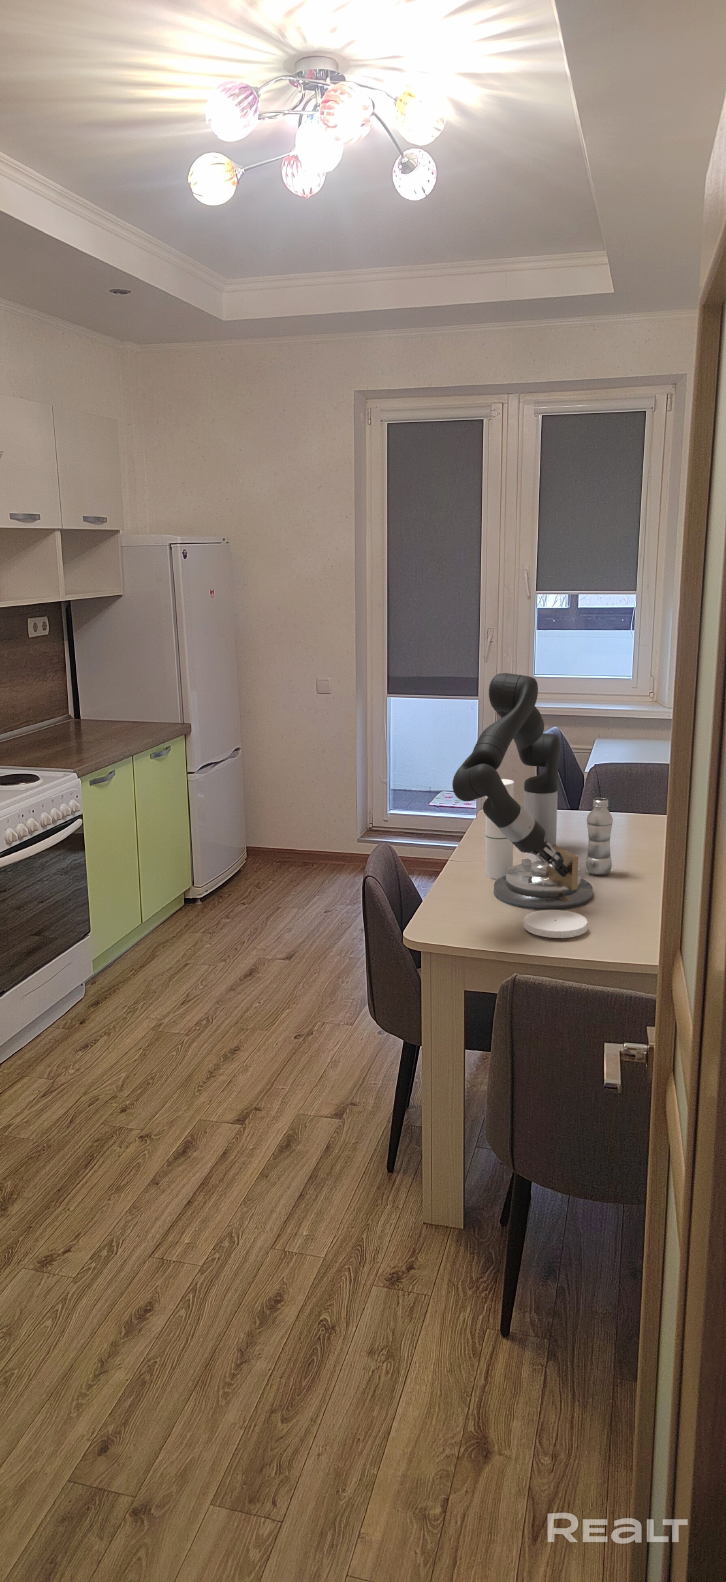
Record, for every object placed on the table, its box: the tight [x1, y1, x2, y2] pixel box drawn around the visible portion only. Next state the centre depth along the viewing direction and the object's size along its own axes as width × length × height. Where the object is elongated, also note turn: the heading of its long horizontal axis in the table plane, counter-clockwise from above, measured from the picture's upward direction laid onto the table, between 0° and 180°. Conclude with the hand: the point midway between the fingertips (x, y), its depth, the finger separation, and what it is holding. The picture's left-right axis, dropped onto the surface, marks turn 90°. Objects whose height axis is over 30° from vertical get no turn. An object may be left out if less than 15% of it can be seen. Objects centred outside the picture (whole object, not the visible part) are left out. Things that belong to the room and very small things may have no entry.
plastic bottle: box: [585, 797, 614, 876], centre depth 269 cm, size 6×7×20 cm
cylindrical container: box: [484, 778, 515, 880], centre depth 270 cm, size 7×7×25 cm
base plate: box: [493, 876, 594, 911], centre depth 257 cm, size 24×24×2 cm
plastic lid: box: [523, 909, 588, 939], centre depth 233 cm, size 14×14×2 cm
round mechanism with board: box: [506, 845, 581, 897], centre depth 253 cm, size 23×18×11 cm
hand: (565, 873), depth 244 cm, fingers closed
